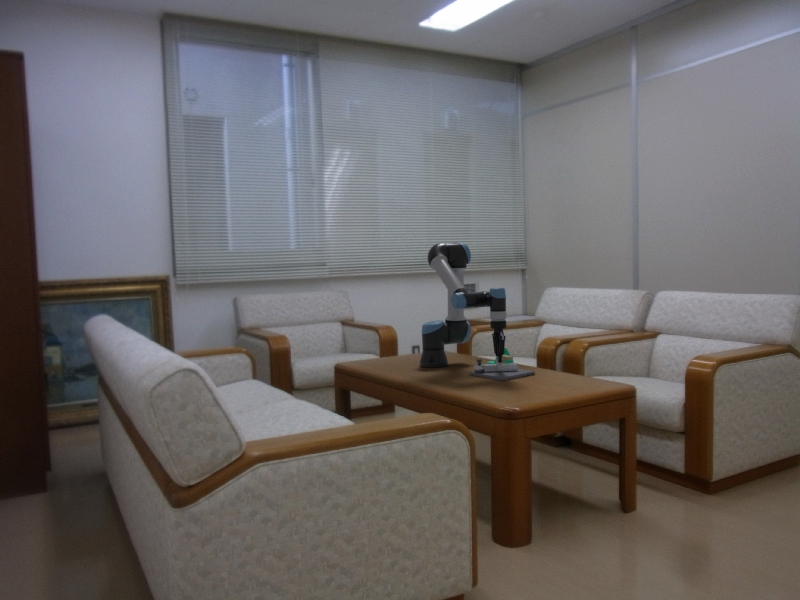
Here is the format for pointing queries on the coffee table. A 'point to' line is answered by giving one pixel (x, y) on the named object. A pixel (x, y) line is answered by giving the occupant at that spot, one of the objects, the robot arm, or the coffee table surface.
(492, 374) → the plate
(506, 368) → the link
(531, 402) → the coffee table surface
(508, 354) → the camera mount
